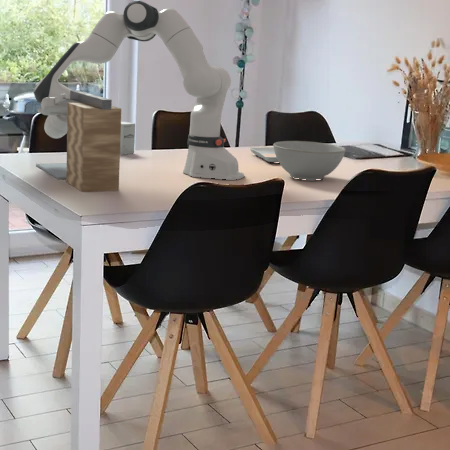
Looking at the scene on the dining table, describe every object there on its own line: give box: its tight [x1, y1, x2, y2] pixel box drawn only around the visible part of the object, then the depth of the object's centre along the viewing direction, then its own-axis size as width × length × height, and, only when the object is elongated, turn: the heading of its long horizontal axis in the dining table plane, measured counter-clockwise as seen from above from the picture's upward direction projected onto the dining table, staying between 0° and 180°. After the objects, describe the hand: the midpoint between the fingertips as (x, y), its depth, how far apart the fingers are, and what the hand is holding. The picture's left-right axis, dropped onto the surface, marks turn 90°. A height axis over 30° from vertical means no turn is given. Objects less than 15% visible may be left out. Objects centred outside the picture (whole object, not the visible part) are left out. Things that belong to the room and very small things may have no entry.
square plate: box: [248, 146, 278, 163], centre depth 337 cm, size 27×27×4 cm
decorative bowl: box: [272, 140, 346, 180], centre depth 295 cm, size 27×27×12 cm
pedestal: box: [65, 103, 122, 193], centre depth 253 cm, size 16×12×26 cm
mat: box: [35, 162, 67, 180], centre depth 278 cm, size 26×14×1 cm, turn 29°
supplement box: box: [120, 121, 136, 156], centre depth 325 cm, size 7×7×13 cm
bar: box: [70, 89, 113, 110], centre depth 253 cm, size 30×3×3 cm, turn 29°
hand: (77, 96), depth 263 cm, fingers open, 8 cm apart
